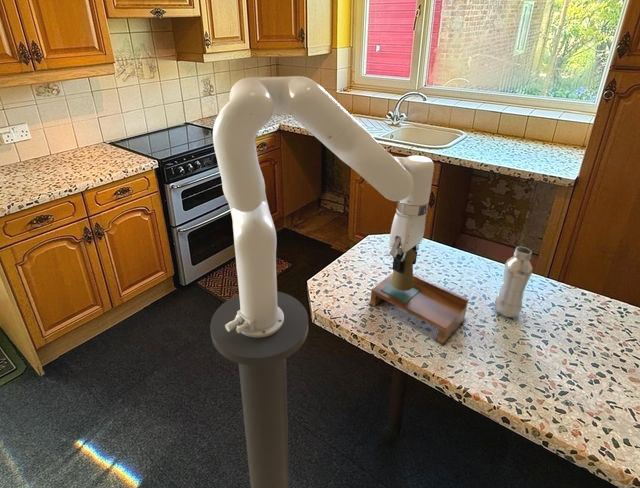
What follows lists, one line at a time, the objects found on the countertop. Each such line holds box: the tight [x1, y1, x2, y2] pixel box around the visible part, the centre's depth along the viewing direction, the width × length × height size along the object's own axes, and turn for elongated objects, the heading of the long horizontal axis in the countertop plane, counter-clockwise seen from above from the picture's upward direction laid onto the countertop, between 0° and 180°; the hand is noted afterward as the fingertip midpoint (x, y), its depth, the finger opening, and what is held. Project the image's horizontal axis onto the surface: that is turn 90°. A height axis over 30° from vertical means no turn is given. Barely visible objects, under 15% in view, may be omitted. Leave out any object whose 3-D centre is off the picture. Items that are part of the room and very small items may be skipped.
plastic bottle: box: [494, 246, 533, 318], centre depth 105 cm, size 6×7×20 cm
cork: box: [391, 249, 417, 291], centre depth 107 cm, size 6×6×11 cm
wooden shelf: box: [369, 269, 470, 345], centre depth 108 cm, size 12×22×7 cm, turn 46°
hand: (404, 266), depth 107 cm, fingers closed on cork, 5 cm apart
